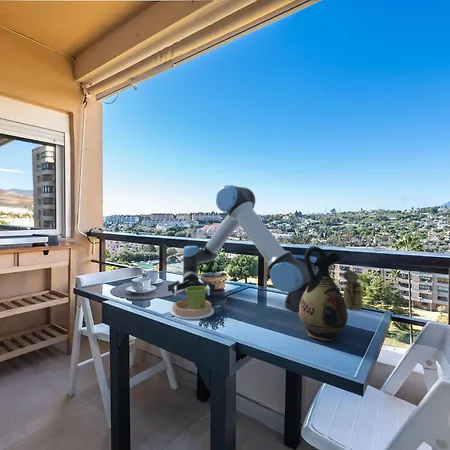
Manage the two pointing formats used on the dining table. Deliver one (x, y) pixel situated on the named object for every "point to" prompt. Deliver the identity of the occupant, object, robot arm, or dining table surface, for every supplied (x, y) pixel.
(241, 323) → the dining table surface
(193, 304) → the plant pot
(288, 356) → the dining table surface
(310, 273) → the ceramic jug
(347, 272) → the stone figurine
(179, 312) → the ring collar
